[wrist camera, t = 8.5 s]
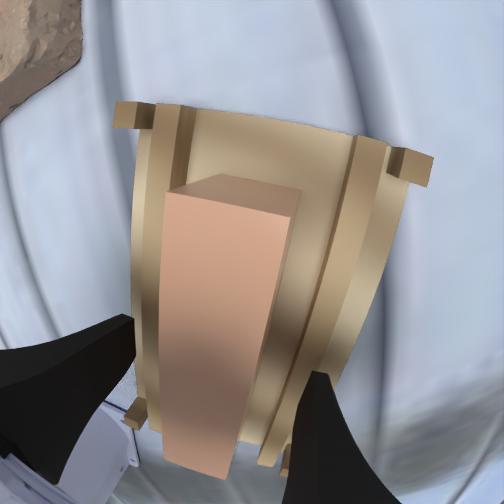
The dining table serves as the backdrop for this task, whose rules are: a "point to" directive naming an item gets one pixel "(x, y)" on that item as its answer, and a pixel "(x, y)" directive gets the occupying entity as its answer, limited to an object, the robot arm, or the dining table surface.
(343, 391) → the dining table surface
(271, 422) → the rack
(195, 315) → the clay strip
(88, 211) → the dining table surface
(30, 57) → the brick
